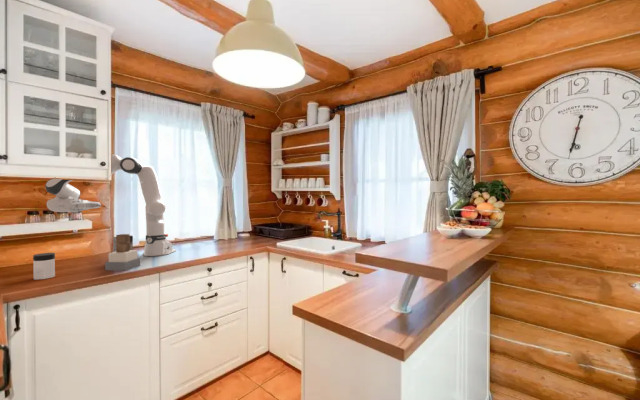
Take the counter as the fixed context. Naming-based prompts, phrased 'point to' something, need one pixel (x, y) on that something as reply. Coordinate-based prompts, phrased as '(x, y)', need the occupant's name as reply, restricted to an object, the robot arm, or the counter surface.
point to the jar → (44, 265)
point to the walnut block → (122, 243)
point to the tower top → (122, 256)
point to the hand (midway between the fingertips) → (93, 205)
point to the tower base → (122, 265)
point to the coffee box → (129, 243)
